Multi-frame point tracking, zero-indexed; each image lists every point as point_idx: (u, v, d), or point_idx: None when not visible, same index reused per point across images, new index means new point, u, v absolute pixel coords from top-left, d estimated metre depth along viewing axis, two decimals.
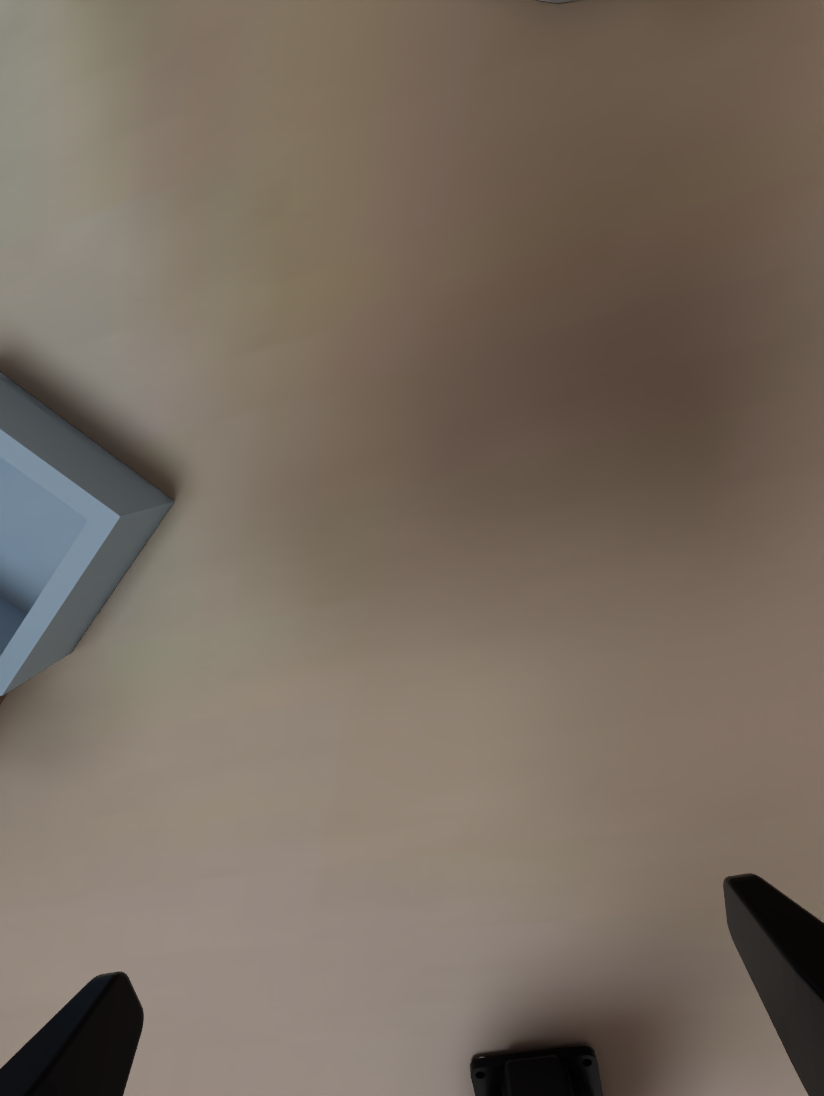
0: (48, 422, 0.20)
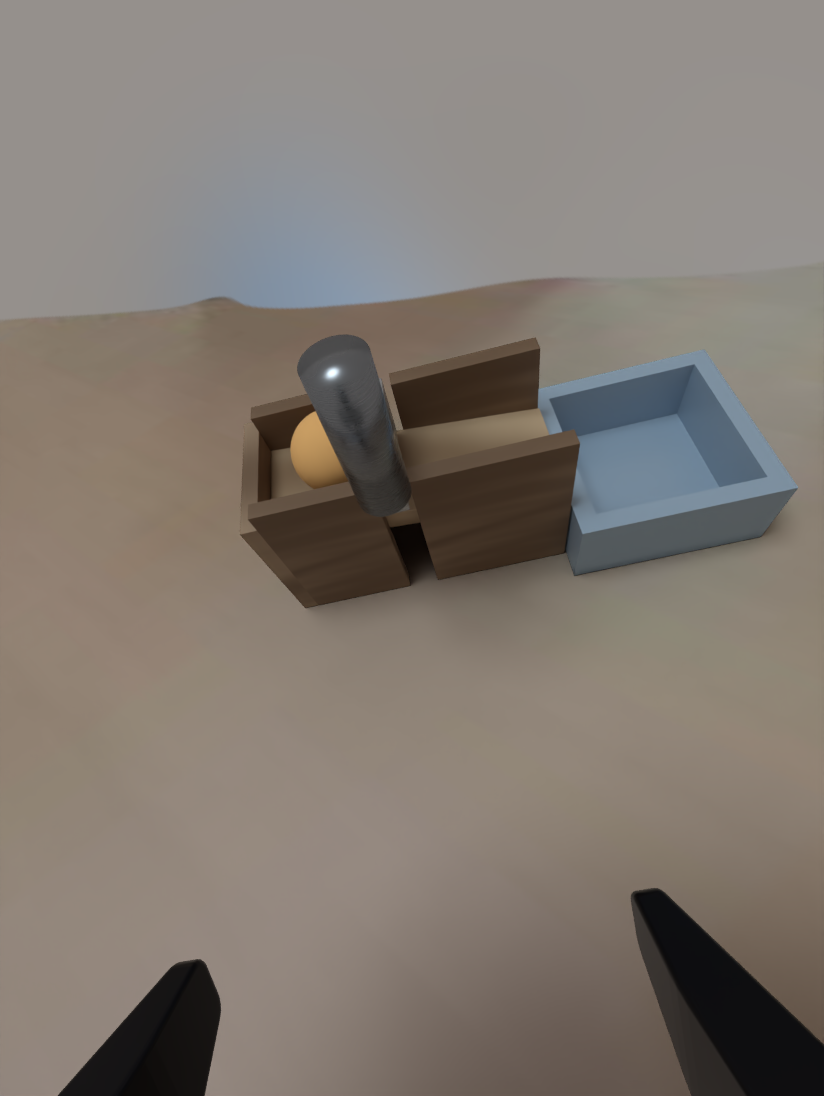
0: None
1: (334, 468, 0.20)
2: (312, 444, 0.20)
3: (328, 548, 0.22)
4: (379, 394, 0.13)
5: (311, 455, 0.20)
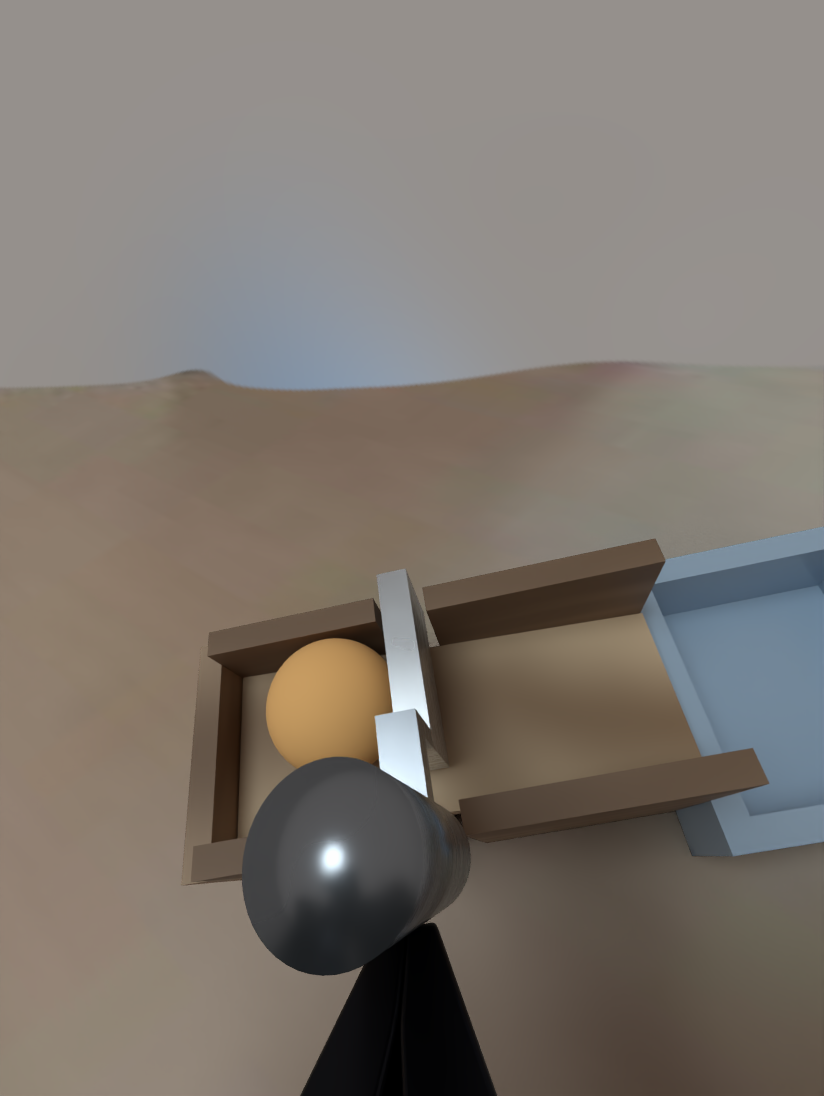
0: None
1: (333, 750, 0.12)
2: (299, 710, 0.12)
3: None
4: (435, 876, 0.06)
5: (296, 728, 0.12)
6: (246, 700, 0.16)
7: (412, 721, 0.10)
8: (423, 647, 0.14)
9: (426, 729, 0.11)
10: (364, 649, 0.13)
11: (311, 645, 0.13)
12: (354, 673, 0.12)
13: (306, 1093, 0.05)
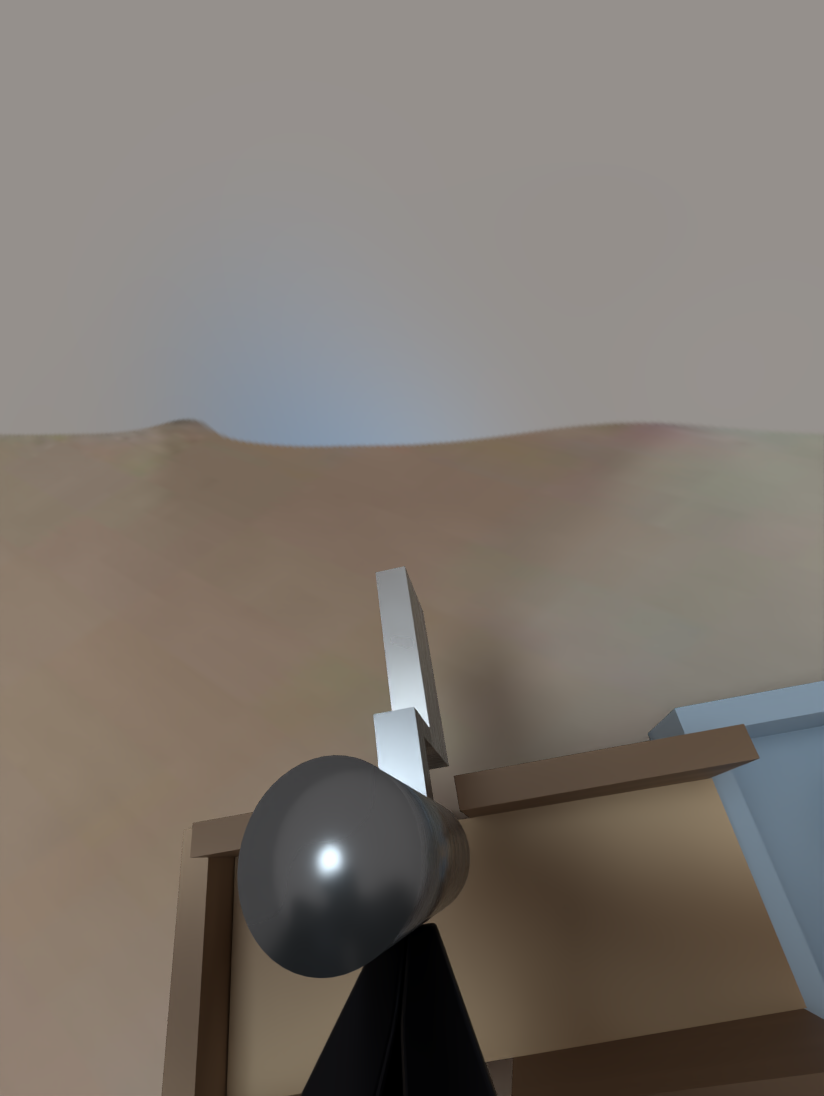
0: None
1: None
2: None
3: None
4: (434, 877, 0.06)
5: None
6: None
7: (411, 720, 0.10)
8: (422, 645, 0.14)
9: (425, 728, 0.11)
10: None
11: None
12: None
13: (306, 1093, 0.05)
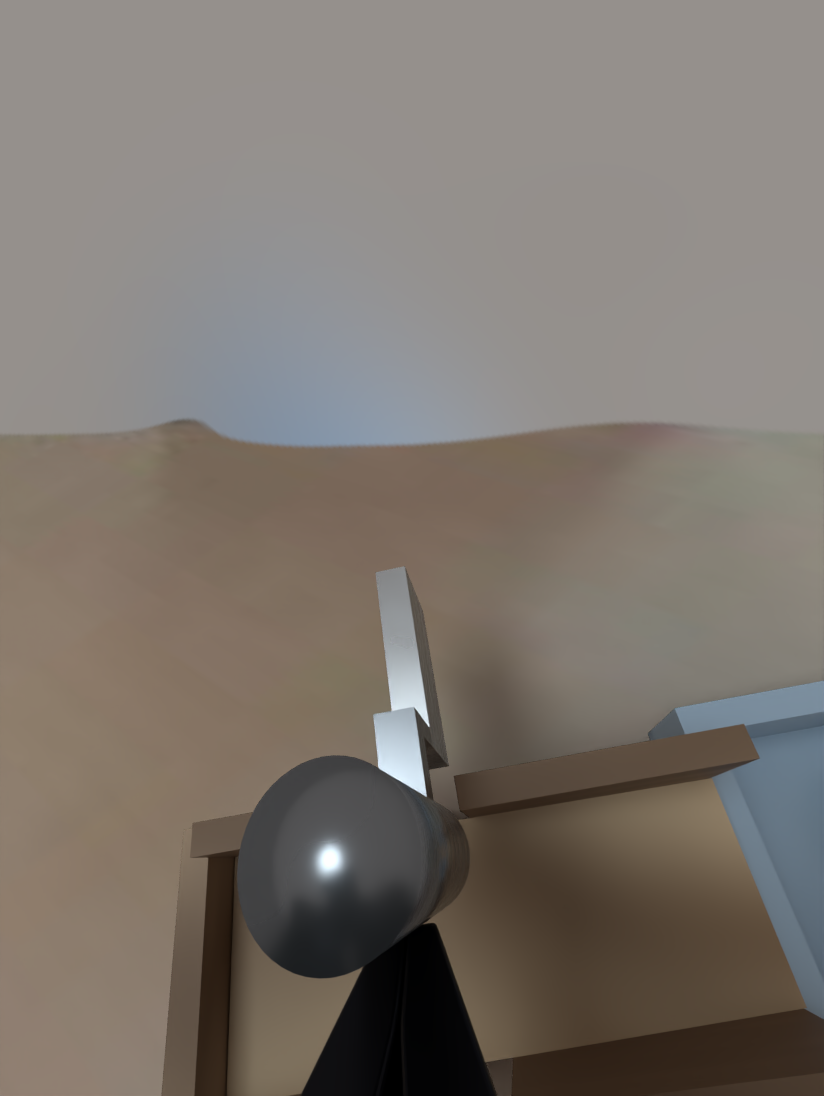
0: None
1: None
2: None
3: None
4: (434, 877, 0.06)
5: None
6: None
7: (411, 720, 0.10)
8: (422, 645, 0.14)
9: (425, 728, 0.11)
10: None
11: None
12: None
13: (306, 1093, 0.05)
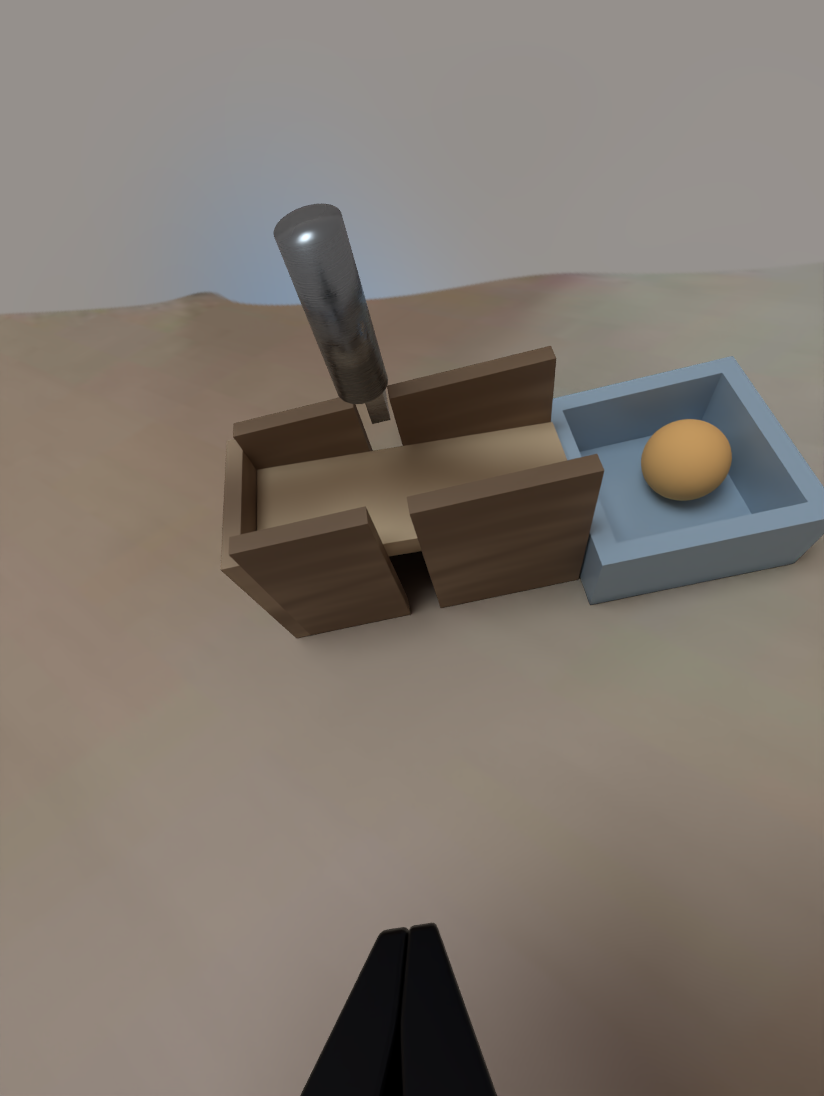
0: None
1: (693, 498, 0.23)
2: None
3: (320, 581, 0.20)
4: (351, 262, 0.14)
5: None
6: (260, 482, 0.21)
7: None
8: None
9: None
10: None
11: None
12: None
13: (306, 1094, 0.05)
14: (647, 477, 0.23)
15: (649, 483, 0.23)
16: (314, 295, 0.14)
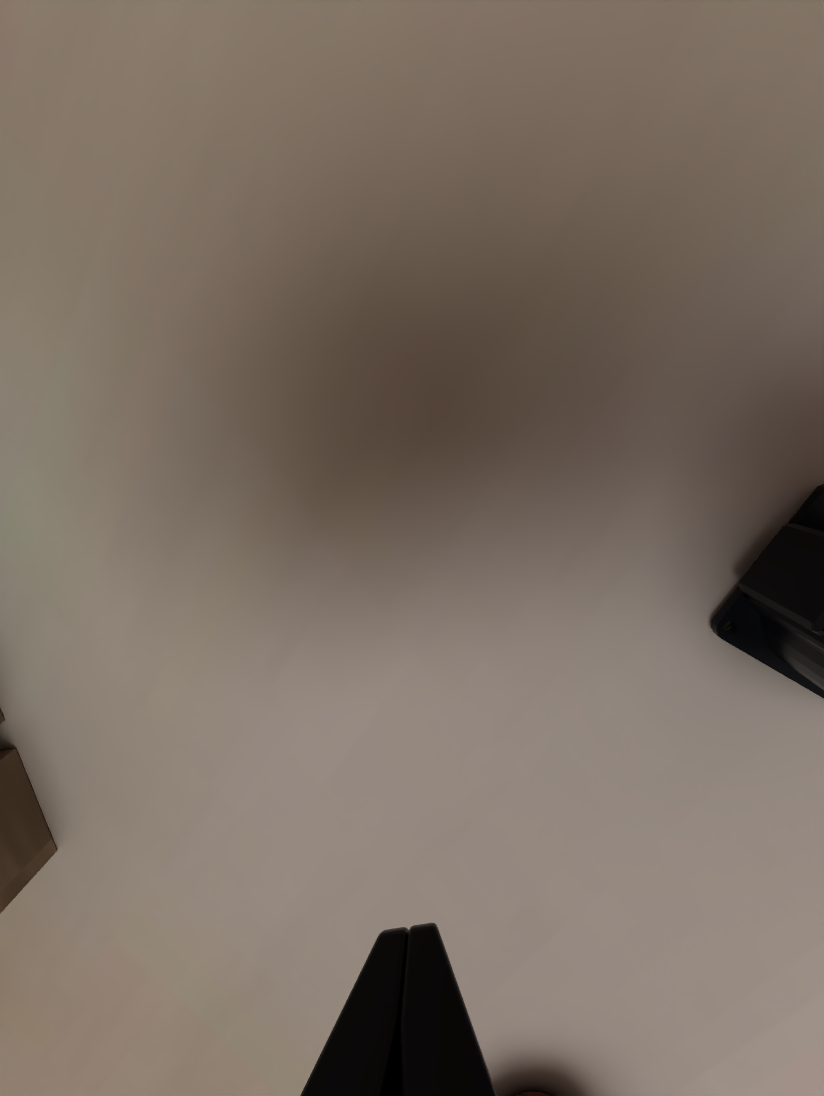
0: None
1: None
2: None
3: None
4: None
5: None
6: None
7: None
8: None
9: None
10: None
11: None
12: None
13: (306, 1093, 0.05)
14: None
15: None
16: None
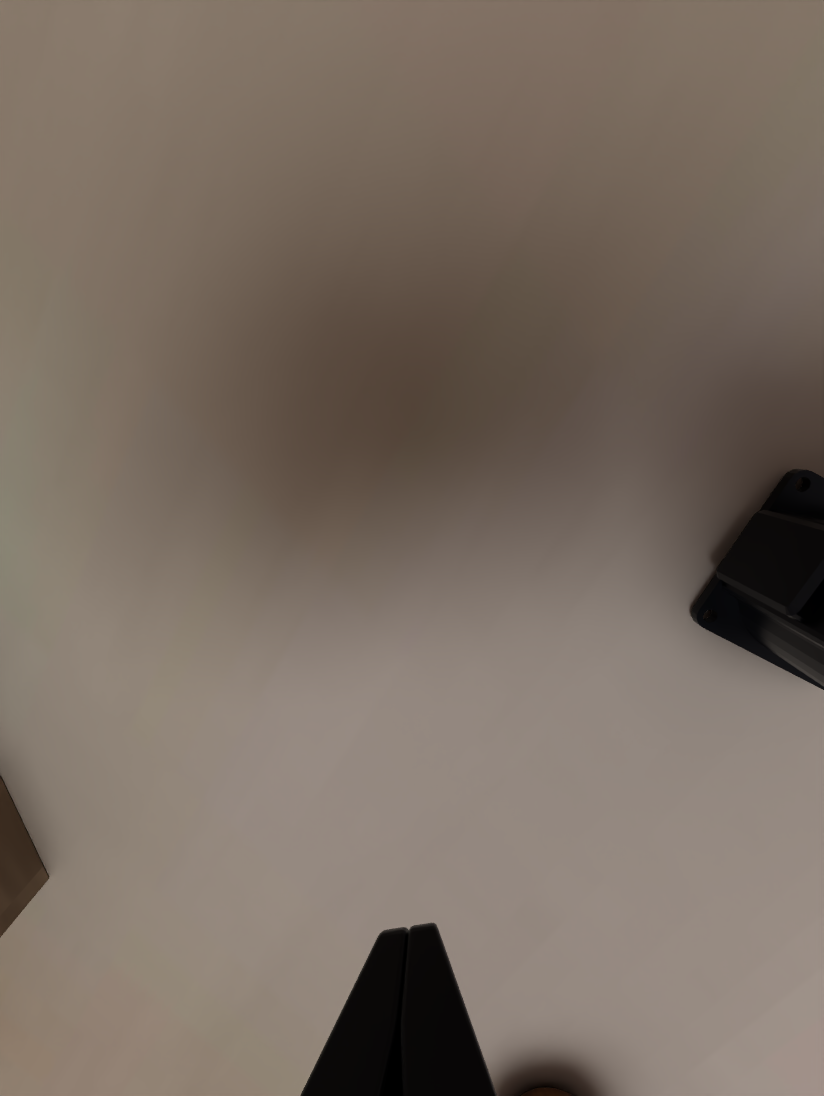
0: None
1: None
2: None
3: None
4: None
5: None
6: None
7: None
8: None
9: None
10: None
11: None
12: None
13: (307, 1093, 0.05)
14: None
15: None
16: None
